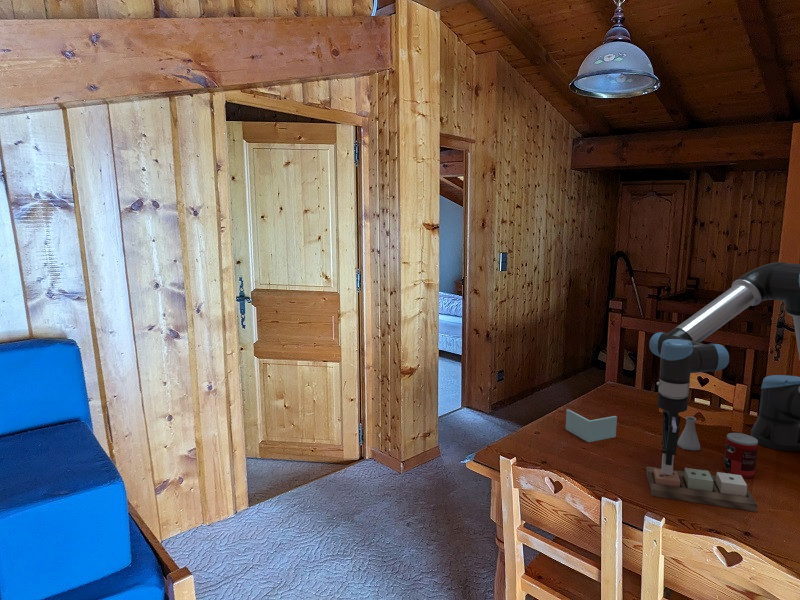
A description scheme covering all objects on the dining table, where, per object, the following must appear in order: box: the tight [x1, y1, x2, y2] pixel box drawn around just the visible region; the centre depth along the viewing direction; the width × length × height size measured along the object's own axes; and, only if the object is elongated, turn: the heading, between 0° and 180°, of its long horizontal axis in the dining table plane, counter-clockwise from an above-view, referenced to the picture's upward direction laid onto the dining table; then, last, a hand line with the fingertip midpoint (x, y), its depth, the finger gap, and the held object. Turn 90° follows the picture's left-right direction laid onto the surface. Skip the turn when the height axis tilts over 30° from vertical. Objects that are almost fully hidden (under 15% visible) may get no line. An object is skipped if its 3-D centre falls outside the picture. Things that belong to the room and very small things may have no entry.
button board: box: [645, 465, 758, 513], centre depth 147 cm, size 25×14×2 cm, turn 71°
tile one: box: [715, 471, 748, 497], centre depth 144 cm, size 6×6×3 cm
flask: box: [677, 416, 701, 451], centre depth 174 cm, size 7×7×10 cm
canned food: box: [723, 432, 759, 479], centre depth 156 cm, size 8×8×11 cm
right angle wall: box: [565, 409, 618, 443], centre depth 186 cm, size 12×12×8 cm
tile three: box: [653, 467, 680, 487], centre depth 149 cm, size 6×6×3 cm
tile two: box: [684, 467, 713, 492], centre depth 146 cm, size 6×6×3 cm
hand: (666, 473), depth 149 cm, fingers closed
